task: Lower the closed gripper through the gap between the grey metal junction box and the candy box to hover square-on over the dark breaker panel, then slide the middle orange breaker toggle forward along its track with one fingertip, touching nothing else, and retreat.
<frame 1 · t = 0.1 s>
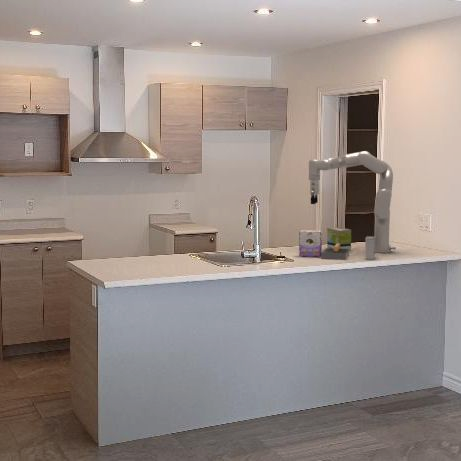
hand: (314, 203, 490), 31 cm above the counter, tool pointing down, fingers open, 9 cm apart
junction box: (369, 258, 455), on the counter
candy box: (310, 256, 463), on the counter
toggle 2: (337, 247, 459), point 6 cm above the counter, slide at 0.0 cm
breaker panel: (335, 256, 460), on the counter
tea box: (338, 250, 489), on the counter
toggle 3: (336, 248, 454), point 6 cm above the counter, slide at 0.0 cm
toggle 1: (337, 246, 464), point 6 cm above the counter, slide at 0.0 cm
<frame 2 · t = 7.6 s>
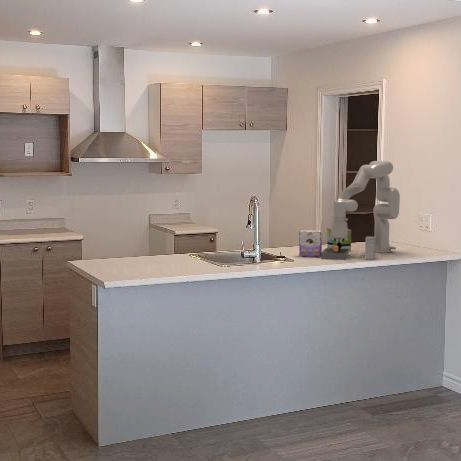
hand: (339, 249, 459), 5 cm above the counter, tool pointing down, fingers closed
toggle 2: (333, 247, 459), point 6 cm above the counter, slide at 1.9 cm, touching gripper
everything else where it was.
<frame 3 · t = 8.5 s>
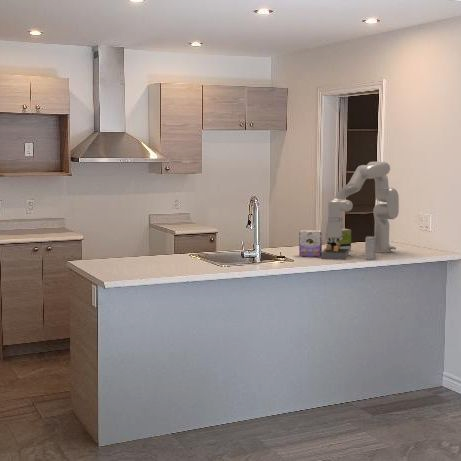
hand: (333, 248, 460), 5 cm above the counter, tool pointing down, fingers closed
toggle 2: (328, 247, 460), point 6 cm above the counter, slide at 5.3 cm, touching gripper
everything else where it was.
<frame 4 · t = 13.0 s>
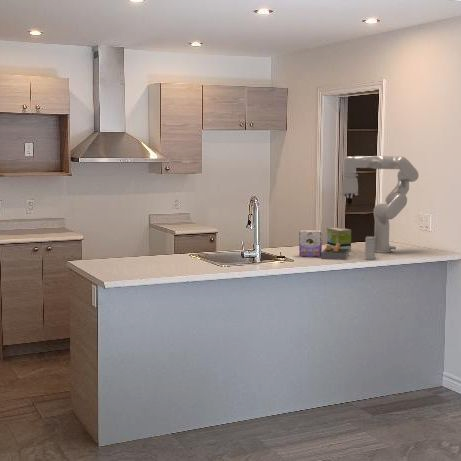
hand: (349, 204, 470), 32 cm above the counter, tool pointing down, fingers closed
toggle 2: (328, 247, 460), point 6 cm above the counter, slide at 5.3 cm
everything else where it was.
at the end: toggle 2 slide at 5.3 cm; toggle 1 slide at 0.0 cm; candy box moved 0.3 cm from its start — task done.
